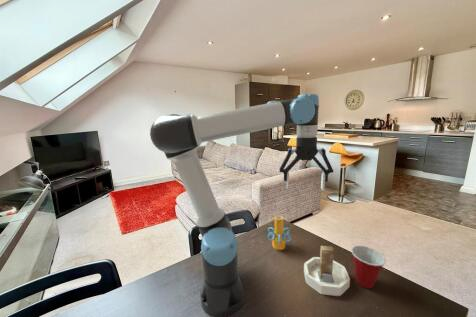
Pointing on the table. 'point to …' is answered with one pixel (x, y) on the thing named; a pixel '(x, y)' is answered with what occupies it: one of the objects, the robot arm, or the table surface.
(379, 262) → the plastic cup
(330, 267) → the long cardboard-colored beam
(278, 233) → the yellow blue ringed piece
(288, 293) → the table surface
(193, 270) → the table surface
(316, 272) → the white octagonal tray
